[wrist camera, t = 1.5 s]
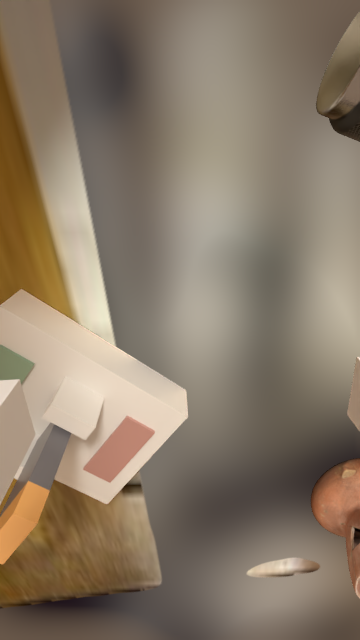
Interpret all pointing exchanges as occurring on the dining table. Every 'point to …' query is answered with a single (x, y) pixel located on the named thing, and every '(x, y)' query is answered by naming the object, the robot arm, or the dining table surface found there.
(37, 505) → the breaker lever
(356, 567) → the terracotta flower pot
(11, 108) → the dining table surface
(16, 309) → the box
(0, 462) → the robot arm
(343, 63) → the muzzle brake
